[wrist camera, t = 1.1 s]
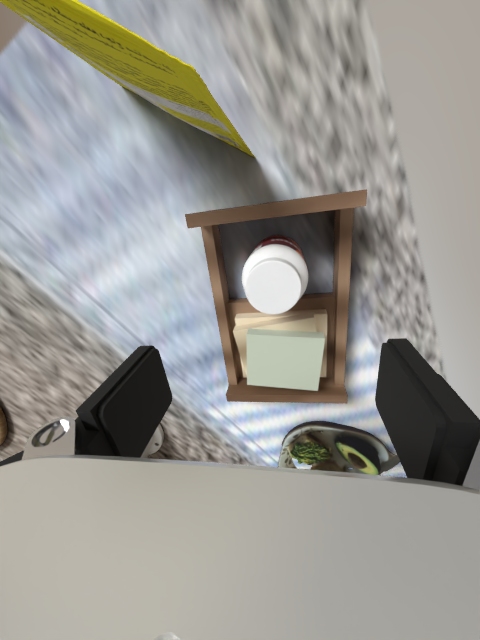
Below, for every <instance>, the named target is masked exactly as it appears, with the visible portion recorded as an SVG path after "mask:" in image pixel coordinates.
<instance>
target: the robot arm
mask: <svg viewBox="0 0 480 640" xmlns="http://www.w3.org/2000/svg"><path fill="white" fill-rule="evenodd" d="M375 401H376V406H377V409H378V411H379V413H380V416H381V418H382V420H383V423H384V425H385V427H386V429H387V432H388V434H389V436H390V439H391V441H392V443H393V446H394V448H395V450H396V452H397V455H398V457H399V459H400V462H401V464H402V466H403V468H404V471H405V473H406V475H407V478H403V477H392V476H381V475H370V474H359V473H348V472H335V471H321V470H308V469H295V468H282V467H268V466H254V465H240V464H226V463H211V462H197V461H182V460H166V459H151V458H147V457H148V455H150V454H153V453H155V452H156V451H158V450H159V448H160V447H161V445H162V443H163V440H164V432H163V429H162V427H161V425H160V422H161V420H162V418H163V416H164V415H165V413H166V411H167V409H168V407H169V406H170V404H171V402H172V393H171V390H170V387H169V383H168V380H167V377H166V374H165V370H164V367H163V364H162V360H161V357H160V354H159V351H158V349H155V347H154V346H140V347H138V348H137V349H136V350H135V351H134V352H133V353H132V354H131V355H130V356H129V357H128V358H127V359H126V360H125V361H124V362H123V363H122V364H121V365H120V366H119V367H118V368H117V369H116V370H115V371H114V372H113V373H112V374H111V375H110V376H109V377H108V378H107V379H106V380H105V381H104V382H103V383H102V384H101V386H100V387H99V388H98V389H97V390H96V391H95V392H94V393H93V394H92V395H91V396H90V397H89V398H88V399H87V400H86V401H85V402H84V403H83V404H82V405H81V406H80V407H79V408H78V409H77V410H76V412H77V414H78V416H79V417H78V418H77V419H76V420H74V419H73V418H72V417H67V416H66V417H60V418H57V419H54V420H52V421H50V422H48V423H46V424H44V425H43V426H41V427H39V428H38V429H37V430H36V431H35V432H34V433H33V434H32V435H31V436H30V437H29V438H28V440H27V442H26V445H25V449H24V451H22V452H20V453H18V454H15V455H13V456H11V457H9V458H7V459H5V460H3V461H1V462H0V640H480V420H479V418H477V416H476V415H475V414H474V413H473V412H472V410H470V408H469V407H468V406H467V405H466V404H465V403H464V401H463V400H462V399H461V398H460V397H459V396H458V395H457V393H456V392H455V391H454V390H453V389H452V388H451V386H450V385H449V384H448V383H447V382H446V381H445V380H444V378H443V377H442V376H440V375H439V374H437V373H436V372H435V371H434V370H433V369H432V367H431V366H430V365H429V364H428V363H427V362H426V360H425V359H424V358H423V357H422V356H421V355H420V354H419V352H418V351H417V350H416V349H415V348H414V347H413V345H412V344H411V343H410V342H409V341H408V340H407V339H388V341H387V343H383V344H382V348H381V356H380V364H379V372H378V380H377V389H376V397H375Z"/></svg>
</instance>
